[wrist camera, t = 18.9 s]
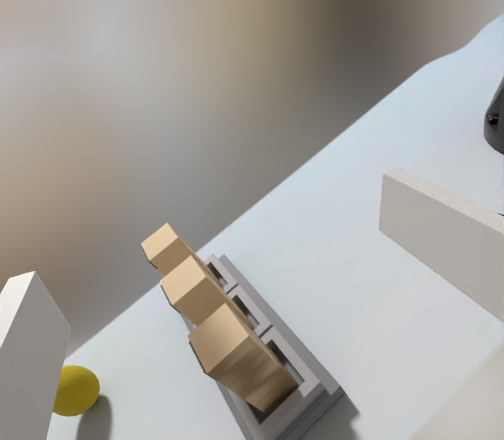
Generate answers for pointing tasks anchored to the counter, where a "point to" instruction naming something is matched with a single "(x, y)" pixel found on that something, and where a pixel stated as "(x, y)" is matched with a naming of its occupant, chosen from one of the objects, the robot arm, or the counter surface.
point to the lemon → (76, 391)
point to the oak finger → (241, 360)
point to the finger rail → (258, 320)
